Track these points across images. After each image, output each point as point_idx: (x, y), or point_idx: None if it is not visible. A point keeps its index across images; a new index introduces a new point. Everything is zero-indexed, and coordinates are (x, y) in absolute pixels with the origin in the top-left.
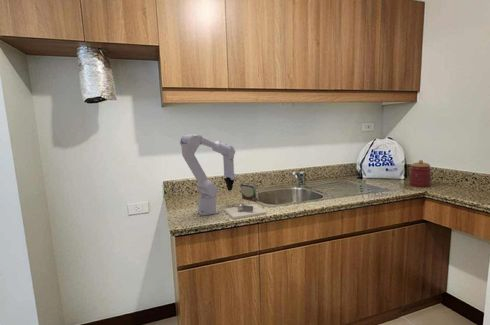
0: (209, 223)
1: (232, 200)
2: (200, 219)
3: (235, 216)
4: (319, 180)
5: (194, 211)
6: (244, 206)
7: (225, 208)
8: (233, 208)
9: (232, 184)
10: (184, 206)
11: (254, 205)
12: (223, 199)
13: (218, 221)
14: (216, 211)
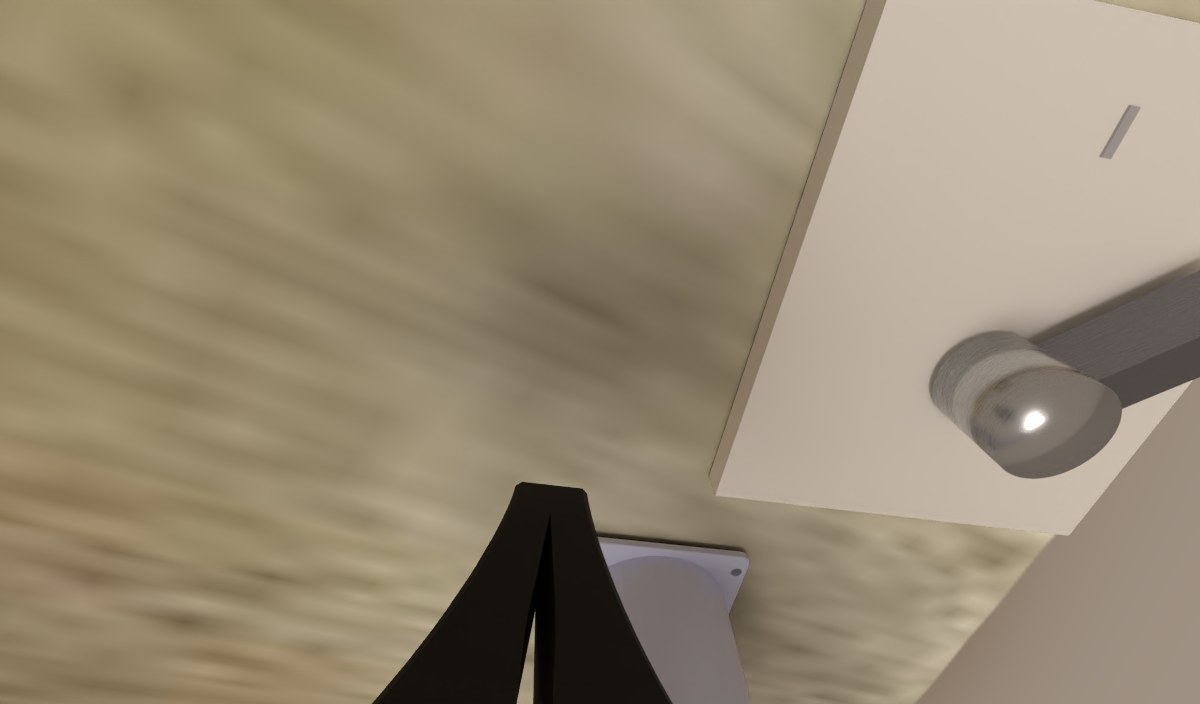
0: (926, 670)
1: (226, 139)
2: (778, 688)
3: (1075, 510)
4: None
5: None
6: (1137, 399)
7: (721, 480)
8: (804, 406)
9: (638, 658)
10: (288, 691)
11: (973, 18)
12: (89, 251)
13: (953, 615)
14: (708, 563)
